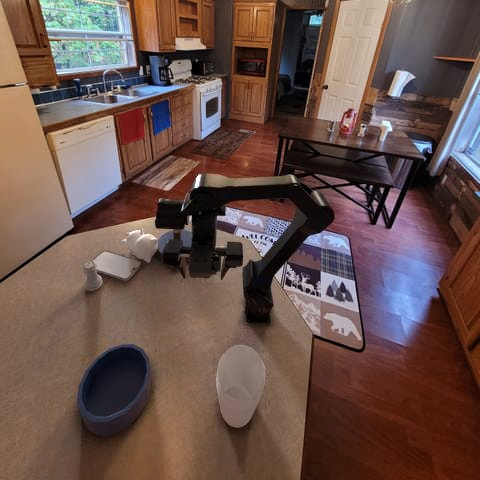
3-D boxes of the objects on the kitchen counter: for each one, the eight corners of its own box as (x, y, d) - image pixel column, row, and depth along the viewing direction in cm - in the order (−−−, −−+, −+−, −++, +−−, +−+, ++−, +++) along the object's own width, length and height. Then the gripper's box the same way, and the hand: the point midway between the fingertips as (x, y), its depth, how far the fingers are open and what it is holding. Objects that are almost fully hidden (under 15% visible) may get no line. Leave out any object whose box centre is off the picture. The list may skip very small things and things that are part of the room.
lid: (201, 254, 84) (201, 239, 81) (158, 263, 79) (157, 248, 76) (193, 228, 95) (193, 215, 93) (155, 235, 90) (154, 221, 88)
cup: (256, 443, 46) (263, 408, 41) (208, 428, 47) (210, 392, 42) (262, 385, 54) (268, 350, 49) (221, 373, 55) (223, 338, 51)
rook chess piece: (81, 288, 72) (76, 267, 69) (95, 276, 76) (90, 256, 73) (93, 294, 70) (88, 273, 67) (106, 282, 74) (102, 261, 71)
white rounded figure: (125, 224, 84) (149, 238, 78) (148, 225, 93) (172, 237, 87) (115, 250, 83) (139, 266, 77) (140, 248, 92) (163, 262, 86)
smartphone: (104, 250, 84) (142, 262, 81) (104, 253, 85) (142, 264, 81) (85, 266, 78) (126, 279, 74) (86, 269, 78) (127, 282, 75)
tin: (158, 358, 57) (157, 344, 55) (139, 436, 46) (137, 421, 44) (101, 357, 56) (98, 343, 55) (67, 436, 45) (62, 422, 43)
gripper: (152, 252, 50) (156, 306, 56) (246, 255, 51) (240, 308, 57) (166, 217, 60) (168, 267, 66) (244, 221, 61) (239, 269, 67)
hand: (203, 278), depth 64 cm, fingers open, 9 cm apart
